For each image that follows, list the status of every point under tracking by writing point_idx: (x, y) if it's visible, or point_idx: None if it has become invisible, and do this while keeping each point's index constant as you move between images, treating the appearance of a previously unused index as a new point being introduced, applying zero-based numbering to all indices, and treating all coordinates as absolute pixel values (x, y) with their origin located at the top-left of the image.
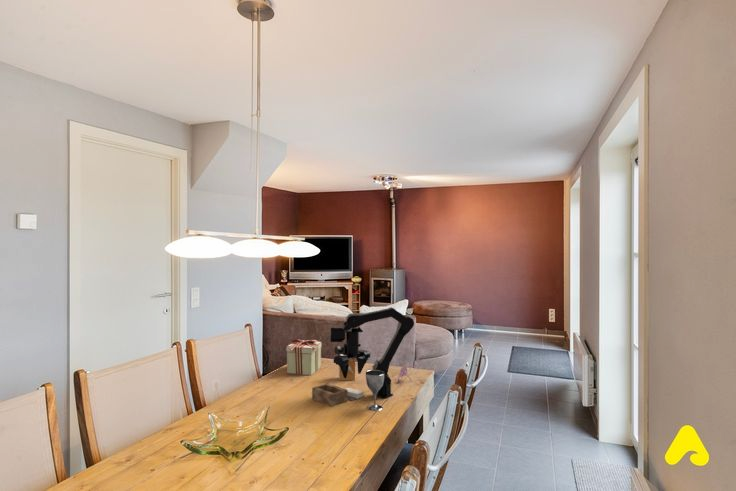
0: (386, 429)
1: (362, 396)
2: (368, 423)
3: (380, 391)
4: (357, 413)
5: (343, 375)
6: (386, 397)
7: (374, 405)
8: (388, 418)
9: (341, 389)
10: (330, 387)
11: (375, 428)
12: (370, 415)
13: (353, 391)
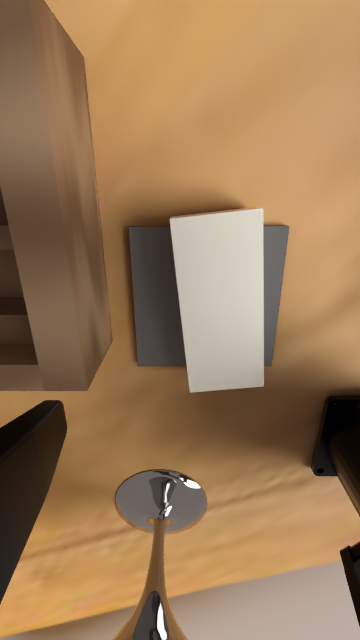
0: (36, 622)
1: None
2: None
3: (340, 473)
4: None
5: (8, 432)
6: (331, 472)
7: (153, 521)
8: (115, 588)
9: (44, 343)
10: (3, 159)
11: (7, 601)
12: (75, 536)
13: (215, 326)
